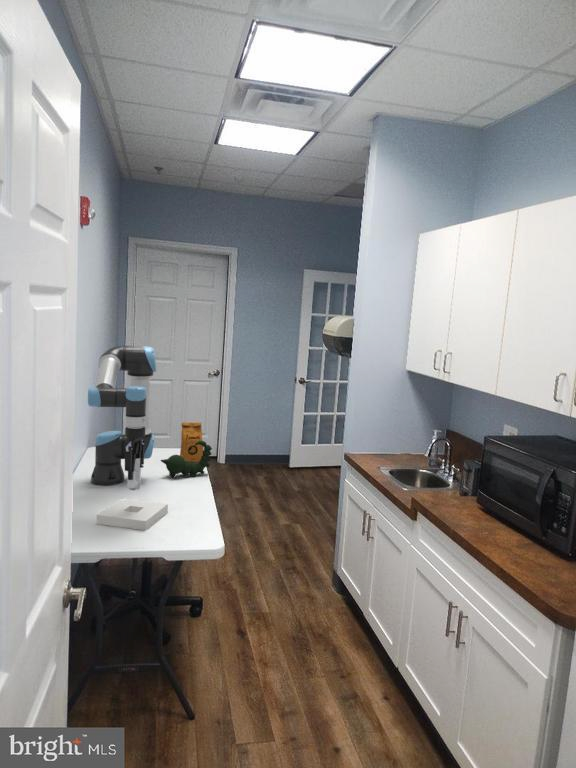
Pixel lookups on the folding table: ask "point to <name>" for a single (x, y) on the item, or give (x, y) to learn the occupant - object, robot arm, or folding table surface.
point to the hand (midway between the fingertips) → (134, 485)
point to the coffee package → (191, 442)
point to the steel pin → (136, 473)
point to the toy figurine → (188, 463)
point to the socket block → (132, 514)
